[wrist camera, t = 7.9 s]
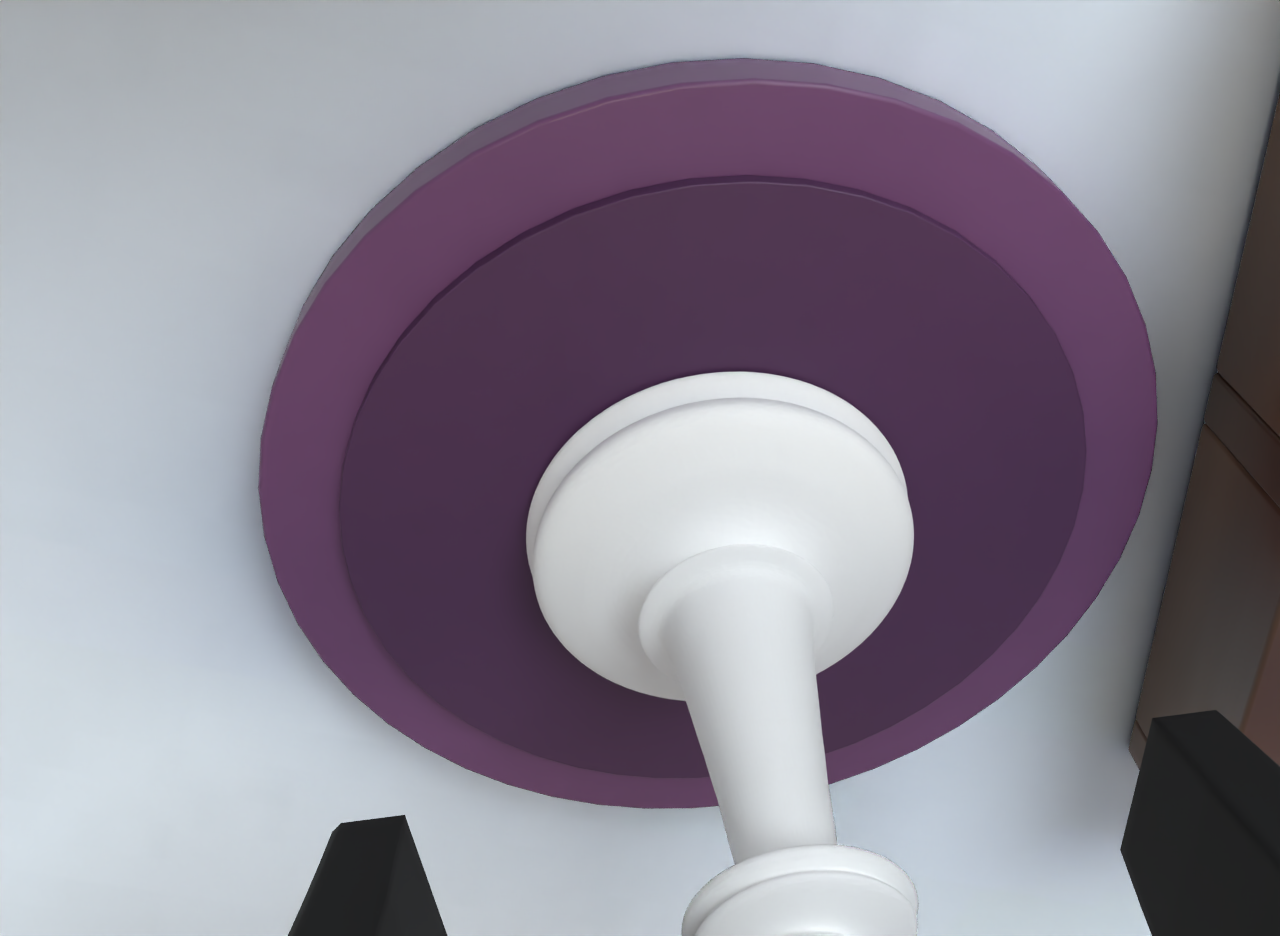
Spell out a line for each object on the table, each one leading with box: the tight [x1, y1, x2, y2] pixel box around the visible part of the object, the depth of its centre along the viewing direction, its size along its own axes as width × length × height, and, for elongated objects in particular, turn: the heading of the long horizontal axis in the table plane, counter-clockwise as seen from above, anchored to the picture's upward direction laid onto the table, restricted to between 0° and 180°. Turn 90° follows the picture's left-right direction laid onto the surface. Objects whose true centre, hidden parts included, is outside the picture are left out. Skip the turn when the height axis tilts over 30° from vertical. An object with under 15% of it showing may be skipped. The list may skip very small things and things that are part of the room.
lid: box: [258, 58, 1158, 808], centre depth 15 cm, size 12×12×1 cm
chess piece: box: [526, 371, 918, 936], centre depth 11 cm, size 5×5×10 cm
